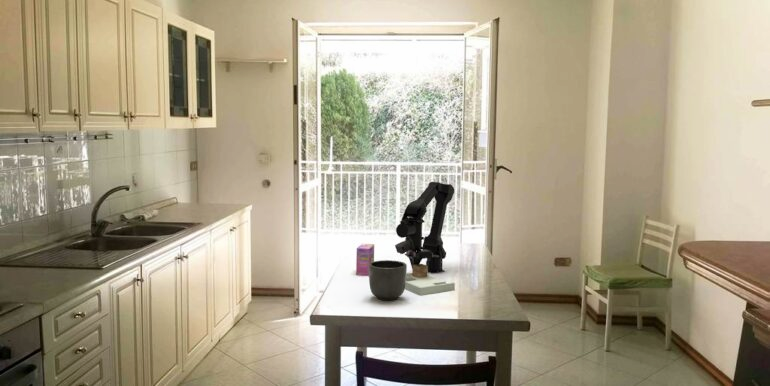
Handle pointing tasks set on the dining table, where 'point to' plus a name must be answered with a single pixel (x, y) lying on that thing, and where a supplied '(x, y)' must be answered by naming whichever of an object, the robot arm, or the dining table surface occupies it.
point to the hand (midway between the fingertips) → (414, 271)
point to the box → (364, 258)
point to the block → (420, 270)
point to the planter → (387, 279)
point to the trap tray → (427, 285)
